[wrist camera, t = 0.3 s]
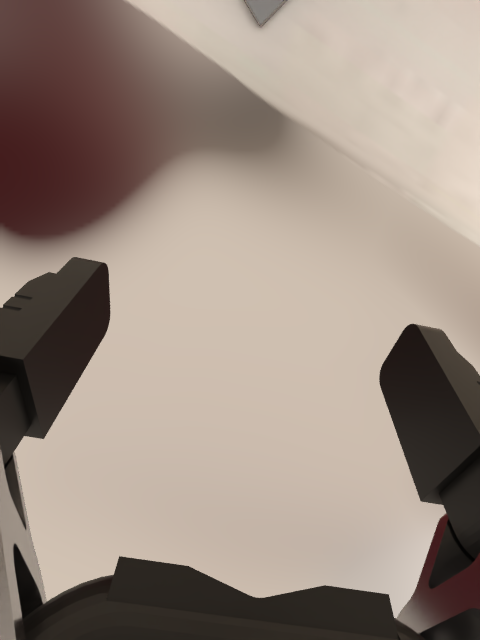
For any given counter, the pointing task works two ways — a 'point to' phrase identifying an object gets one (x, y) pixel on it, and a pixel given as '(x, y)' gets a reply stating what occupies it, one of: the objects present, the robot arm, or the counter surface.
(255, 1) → the frame
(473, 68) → the counter surface
